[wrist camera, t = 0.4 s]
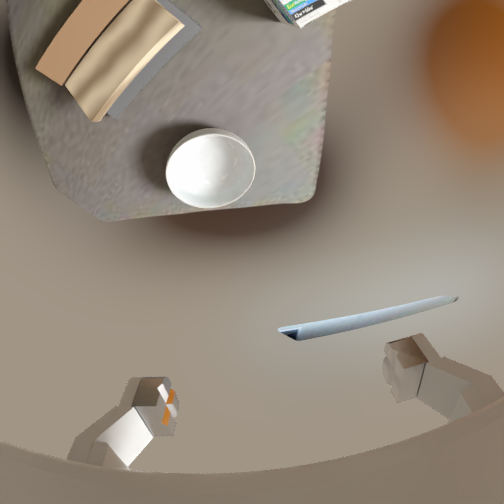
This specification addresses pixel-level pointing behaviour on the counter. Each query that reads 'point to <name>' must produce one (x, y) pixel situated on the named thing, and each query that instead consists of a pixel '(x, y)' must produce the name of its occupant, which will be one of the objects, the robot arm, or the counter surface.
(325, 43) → the counter surface
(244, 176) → the cereal bowl
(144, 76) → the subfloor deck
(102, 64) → the birch plank
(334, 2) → the light bulb box
